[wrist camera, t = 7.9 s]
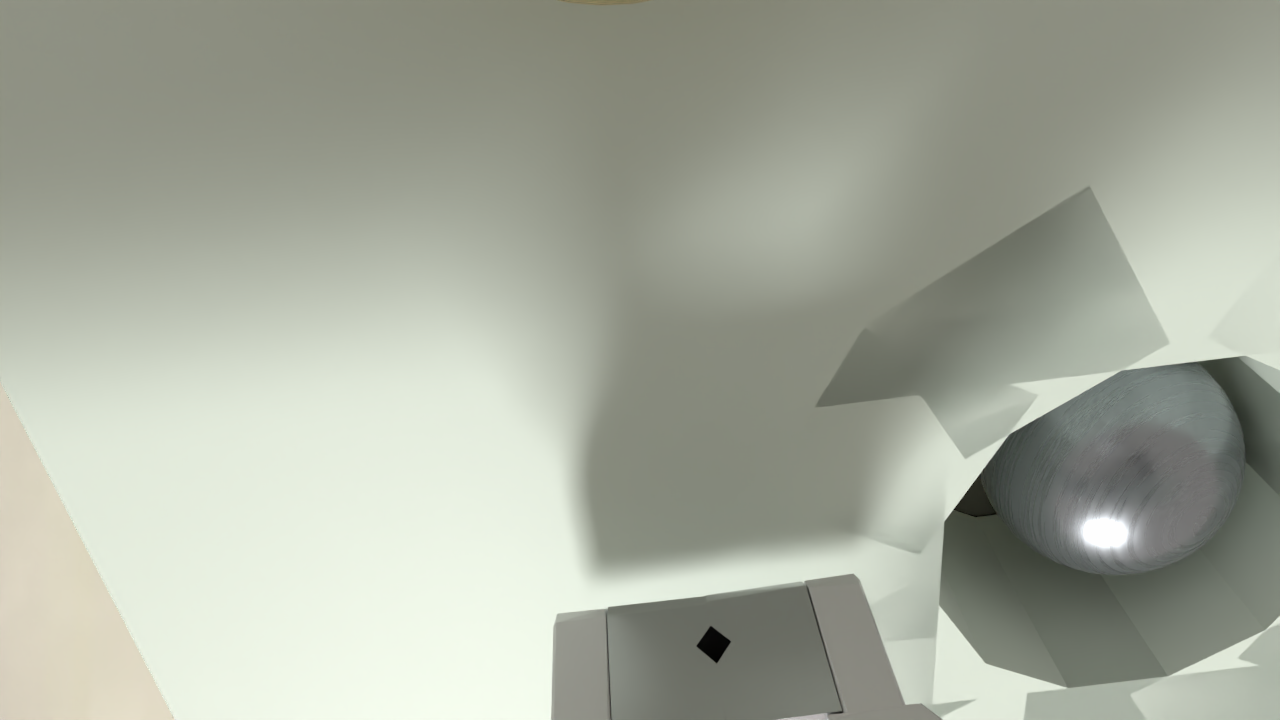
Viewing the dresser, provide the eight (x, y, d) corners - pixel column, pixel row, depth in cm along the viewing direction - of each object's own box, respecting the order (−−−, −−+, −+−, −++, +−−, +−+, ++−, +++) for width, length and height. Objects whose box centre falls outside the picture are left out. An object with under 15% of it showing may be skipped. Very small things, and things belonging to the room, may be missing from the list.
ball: (933, 328, 12) (1108, 455, 10) (1128, 267, 13) (1338, 373, 11) (925, 511, 14) (1075, 662, 11) (1099, 448, 15) (1277, 577, 12)
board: (-355, -991, 7) (-974, -1503, 4) (1927, -1282, 7) (2836, -1997, 4) (386, 869, 18) (353, 1065, 15) (1255, 766, 18) (1377, 944, 15)
